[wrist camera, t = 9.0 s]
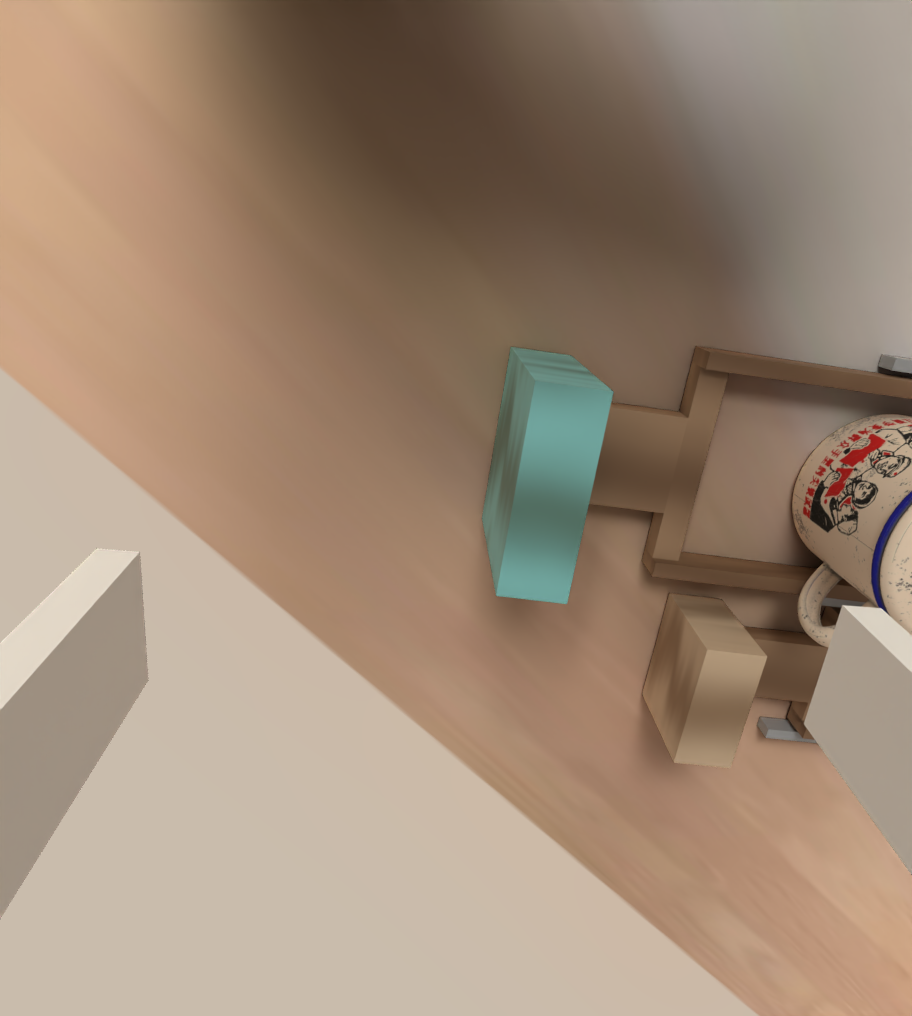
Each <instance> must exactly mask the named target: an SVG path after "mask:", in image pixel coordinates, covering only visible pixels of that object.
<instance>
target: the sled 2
mask: <svg viewBox="0 0 912 1016" xmlns="http://www.w3.org/2000/svg"><path fill="white" fill-rule="evenodd" d="M840 611H841V608H840V607H832V606H826V607H825V610H824V613H823V616H822V619H821V625H822V627H827V626H833V625H836V623H837V620H838V617H839V614H840ZM827 651H828V647H825V646H822V645H820V644H819V643H817V642H816V641H815V640H813V639H812V638H811V637H810V636H809V635H808V634H805V633H796V632H788V631H779V630H771V629H762V628H754V627H745V626H743V625H742V624H741V623H740V622H739V620H738V619H737V618H736V617H735V615H734V614H733V613H732V612H731V610H730V609H729V608H728V607H727V605H726V604H725V603H724V602H723V600H722V599H716V598H707V597H699V596H691V595H682V594H674V593H669V596H668V600H667V603H666V607H665V611H664V615H663V618H662V622H661V626H660V629H659V633H658V637H657V640H656V644H655V648H654V652H653V655H652V659H651V663H650V666H649V670H648V674H647V678H646V681H645V685H644V689H643V692H642V695H643V697H644V700H645V702H646V704H647V706H648V708H649V710H650V713H651V715H652V717H653V719H654V721H655V723H656V726H657V728H658V730H659V732H660V734H661V736H662V739H663V741H664V743H665V745H666V747H667V749H668V752H669V754H670V756H671V758H672V760H673V762H674V763H681V764H691V765H701V766H711V767H721V768H731V765H732V762H733V759H734V756H735V753H736V750H737V747H738V744H739V741H740V738H741V735H742V732H743V729H744V726H745V723H746V720H747V717H748V714H749V711H750V708H751V705H752V702H753V699H754V697H761V698H770V699H780V700H789V701H792V704H791V707H790V710H789V713H788V716H787V718H788V719H789V721H790V722H791V723H792V725H793V726H794V727H795V729H796V730H797V731H798V733H799V734H800V735H801V737H802V738H803V739H812V740H815V739H814V738H813V736H812V735H811V733H810V732H809V731H808V729H807V728H806V726H805V725H804V722H805V719H806V715H807V712H808V709H809V706H810V703H811V700H812V697H813V694H814V691H815V688H816V685H817V682H818V679H819V675H820V672H821V669H822V666H823V663H824V660H825V657H826V654H827Z"/></svg>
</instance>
